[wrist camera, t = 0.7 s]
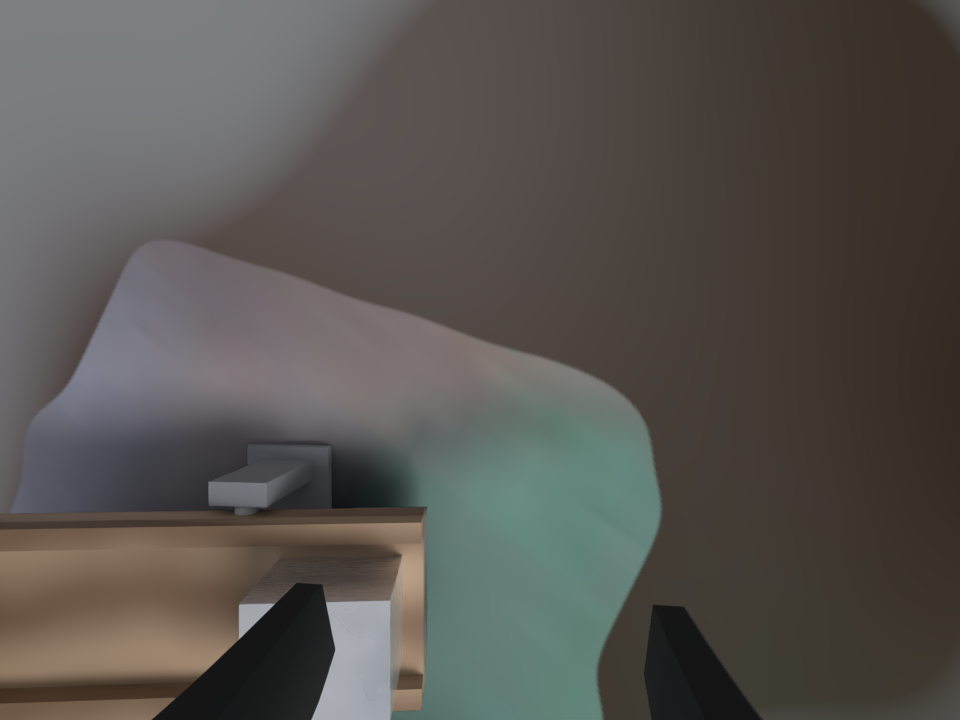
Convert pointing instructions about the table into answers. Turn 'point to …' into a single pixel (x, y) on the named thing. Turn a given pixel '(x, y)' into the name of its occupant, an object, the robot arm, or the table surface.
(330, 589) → the block
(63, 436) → the table surface
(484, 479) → the table surface
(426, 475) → the table surface
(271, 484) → the stand
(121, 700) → the tan wooden tray
